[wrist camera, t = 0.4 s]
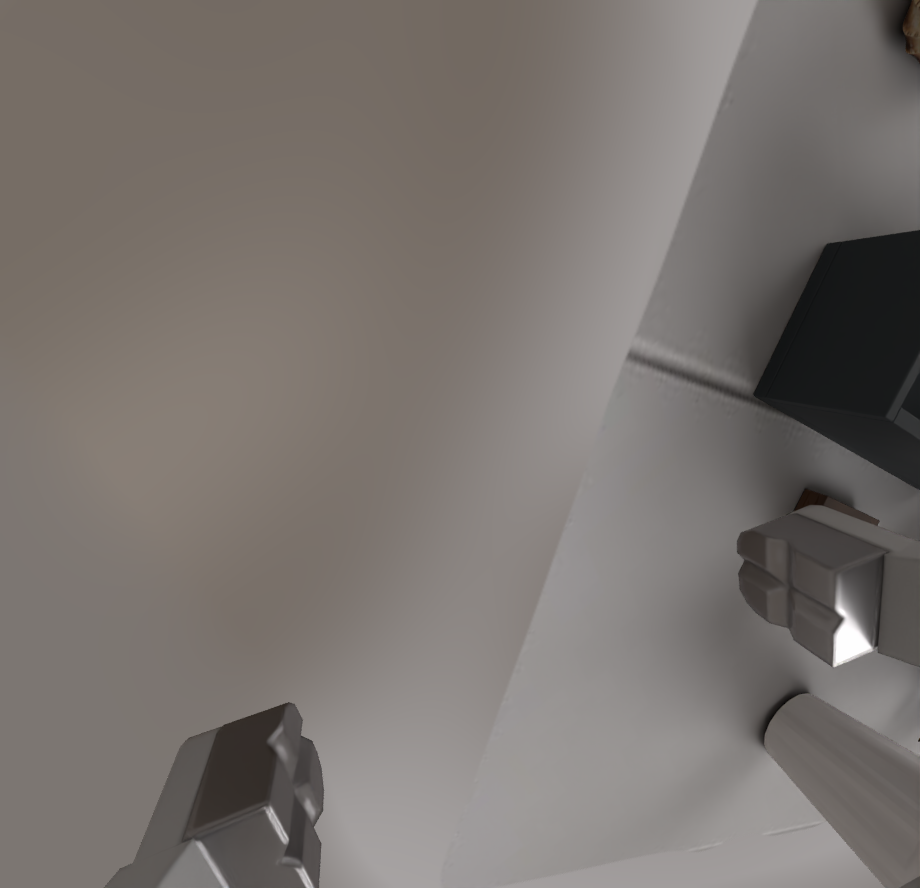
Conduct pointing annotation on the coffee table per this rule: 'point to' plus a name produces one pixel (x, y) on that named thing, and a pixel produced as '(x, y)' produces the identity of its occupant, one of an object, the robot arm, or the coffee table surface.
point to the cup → (853, 783)
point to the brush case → (857, 352)
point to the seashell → (913, 29)
